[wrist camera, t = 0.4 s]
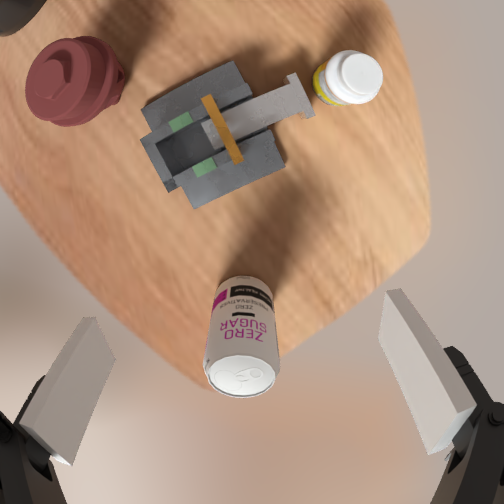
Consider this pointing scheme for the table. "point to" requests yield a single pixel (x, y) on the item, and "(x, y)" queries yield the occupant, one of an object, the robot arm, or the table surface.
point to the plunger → (254, 115)
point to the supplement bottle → (347, 79)
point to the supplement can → (242, 339)
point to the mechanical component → (74, 81)
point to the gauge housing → (205, 139)
